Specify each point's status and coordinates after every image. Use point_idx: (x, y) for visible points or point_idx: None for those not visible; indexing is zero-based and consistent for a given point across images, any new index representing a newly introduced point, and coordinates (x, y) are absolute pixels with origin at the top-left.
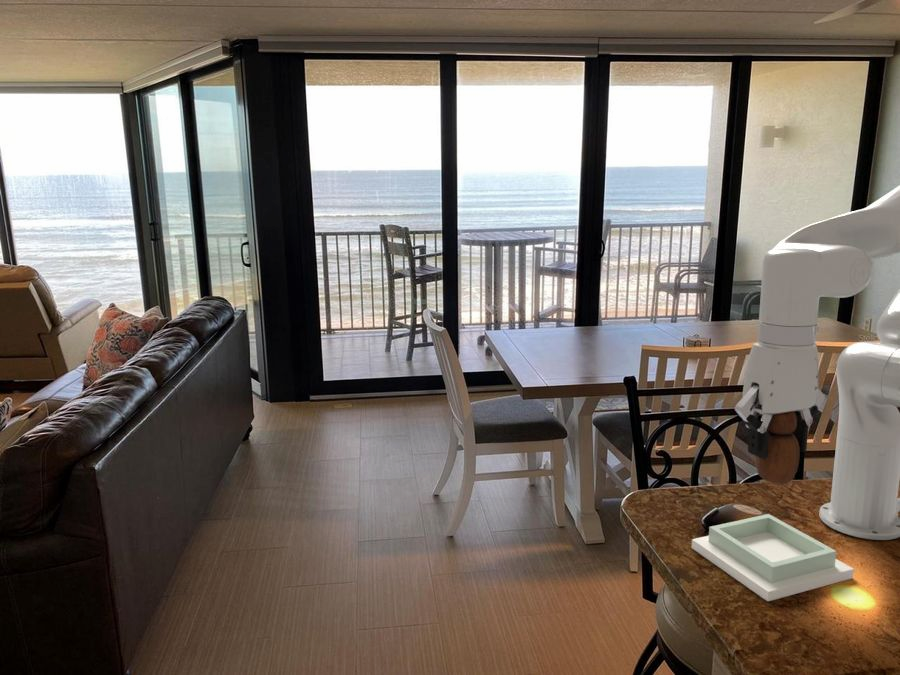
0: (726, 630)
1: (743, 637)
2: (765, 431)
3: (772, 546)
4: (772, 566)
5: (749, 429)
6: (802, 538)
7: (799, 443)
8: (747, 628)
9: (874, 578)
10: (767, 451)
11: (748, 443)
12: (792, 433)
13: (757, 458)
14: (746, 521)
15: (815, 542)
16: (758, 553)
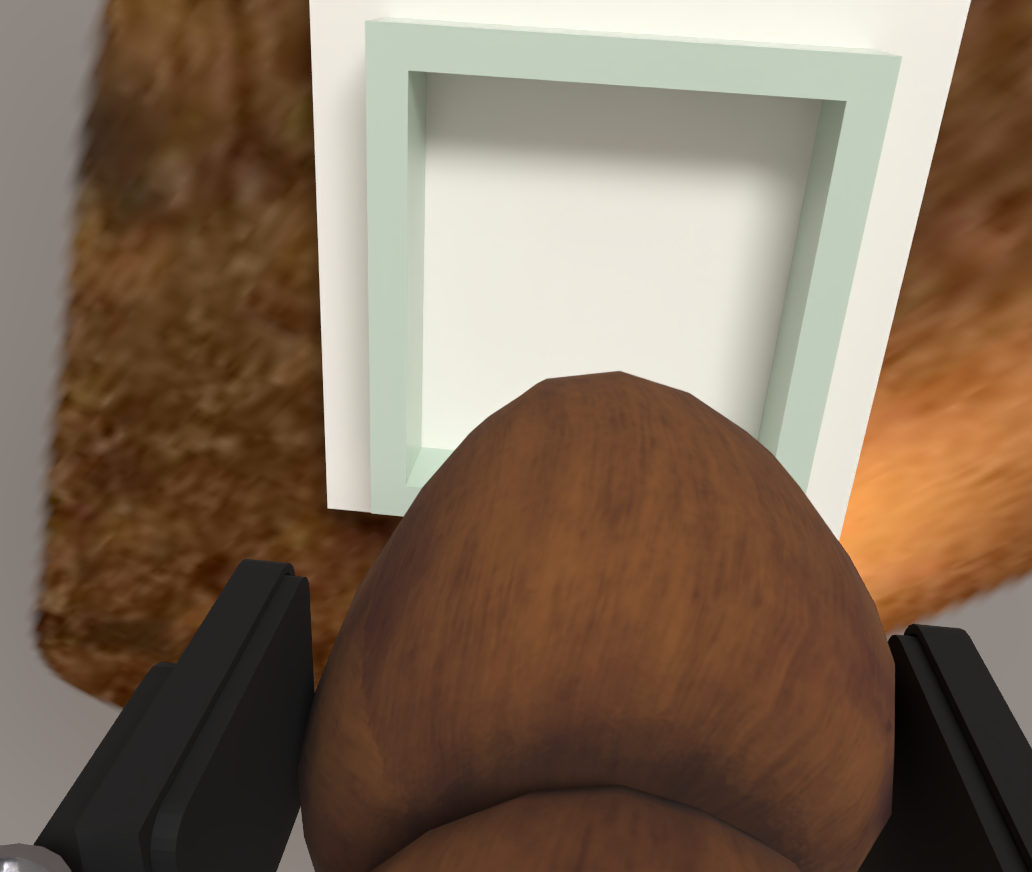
0: (69, 533)
1: (104, 582)
2: (456, 789)
3: (685, 239)
4: (376, 508)
5: (100, 786)
6: (788, 375)
7: (866, 859)
8: (149, 557)
9: (905, 569)
10: (290, 820)
11: (202, 623)
12: (930, 851)
13: (371, 567)
14: (658, 75)
15: (787, 453)
16: (549, 261)
